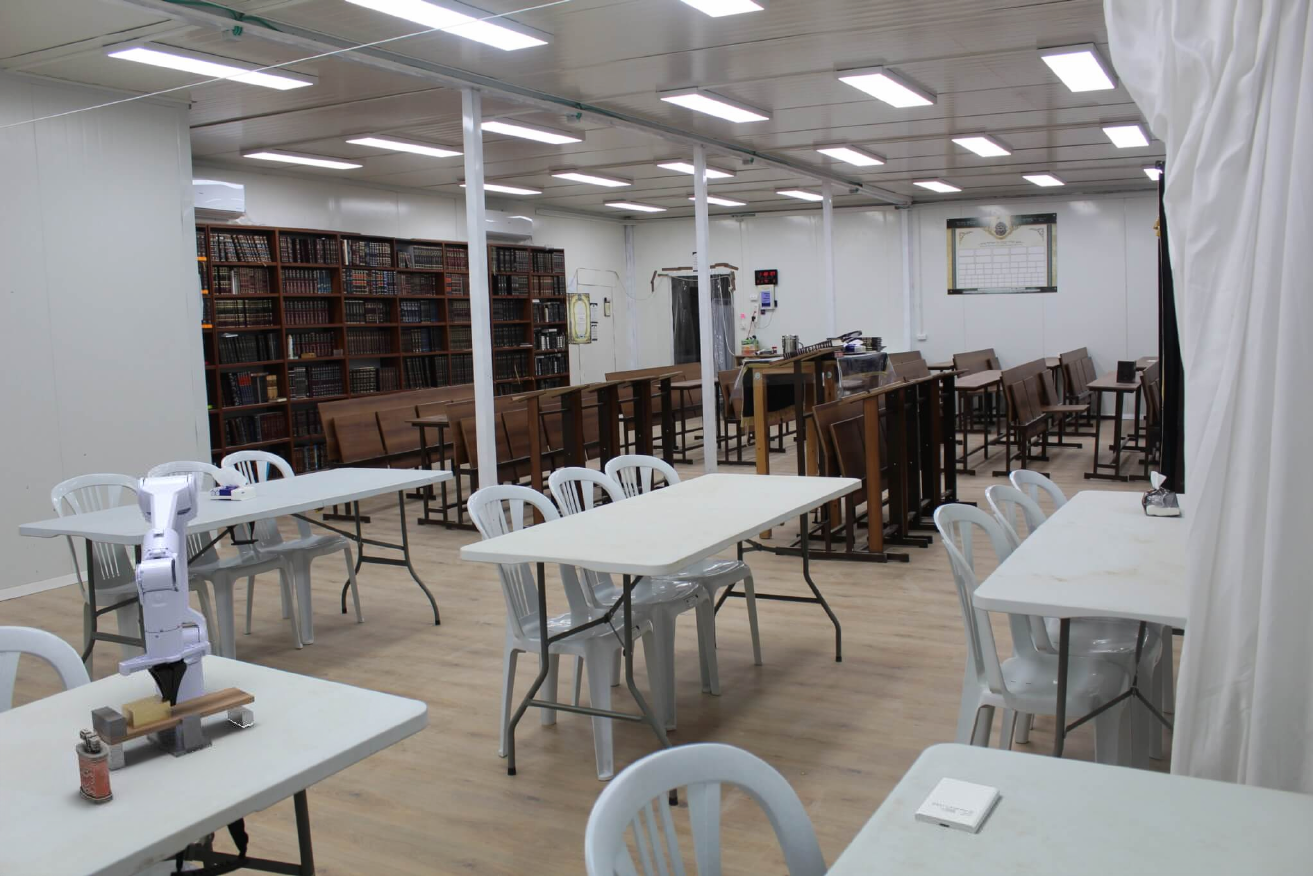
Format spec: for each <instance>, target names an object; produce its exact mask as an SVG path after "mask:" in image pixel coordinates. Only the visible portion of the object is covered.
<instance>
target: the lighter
mask: <svg viewBox="0 0 1313 876" xmlns="http://www.w3.org/2000/svg"><path fill="white" fill-rule="evenodd" d="M79 739H80V740H82V741H83V742H80V743H77V744H76V745H75V752H76V753H77V754H76V755H77V758H78V759H77V760H78V768H79V778H80V785H79V791H80V796H81V795H82V796H81V797H82V798H83V800H85V801H86V802H88V801H89V802H88V803H91V804H92V805H96V804H99V805H103V804H107V803H109V801H110V802H112V800H113V799H114V797H113V791H112V789H111V781H110V769H109V768H108V759H107V758H108V757H109V754H108V750H107V748H106V747H105V746H104V745H102V744H101V741H100V738H99V736H98V733H97V732H94V731H91V730H89V729H88V728H83V729H80V730H79Z"/></svg>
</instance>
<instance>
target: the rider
mask: <svg viewBox="0 0 1313 876" xmlns="http://www.w3.org/2000/svg"><path fill="white" fill-rule="evenodd" d="M120 706H121V707H120V708H121V715H123V716H124V717H125V718H126V724H127V725H128V726H130V727H132V728H133V729H137V728H140V727H143V726H147V725H150V724H153V723H157V722H160V721H163V720H167V719H170V718H171V708H170V701H169V700H167V699H165V698H163V697H161V696H160V695H157V694H156V695H152V696H149V697H145V698H141V699H137V700H134V701H130V702H127V703H124V704H121V705H120Z"/></svg>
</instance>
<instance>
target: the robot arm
mask: <svg viewBox="0 0 1313 876" xmlns="http://www.w3.org/2000/svg"><path fill="white" fill-rule="evenodd" d="M136 488H137V489H136V494H137V502H138V506H139V509H140V511H141V513H142V516H143V518H144V520H145V522H146V523H149V524H150V525H151V526H150V527H151V528H150V529H149V530H148V531H147V532H145V534H144V535H143V541H142V542H143V543H142V551H141V561H140V563H137V564H136V566H135V582H136V583H135V584H136V585H135V586H136V588H137V591H138V595H139V602H140V606H142V614H143V615H142V616H143V626H144V636H145V646H146V647H145V648H146V653H145V654H142V655H140V656H137V657H134V658H131V659H128V660H124V661H121V662H118V668H119V670H118V671H119V675H121V676H124V677H127V676H130V675H131V674H134V673H137V672H141V671H142V672H143V671H145V670H147V671H148V673H149V674H150V676H151V677H152V678H153V680H154V681H155V692H156V695H160V696H161V697H163V698H165V699H167V700H169V701H170V707H171V706H175V705H176V704H177V703H180V702H184V701H187V700H191V699H194V698H198V697H201V696H204V695H206V694H205V682H204V672H203V671H204V670H203V661H202V660H203V659H202V658H203V657H206V656H208V655H211V654H212V648H211V643H210V642H209V632H208V627H207V619H206V617H205V616H204V614H202V612H201V613H200V612H199V611H197V610H195V609H193V608H192V607H190V591H189V588H190V587H189V575H188V574H189V572H188V554H187V553H188V550H187V539H186V538H187V536H186V535H187V528H188V524H189V522H190V521H192V520H195V519H196V518H197V517H198V514H197V513H198V512H199V505H198V485H197V479H196V476H194V475H193V474H192V473H188V474H185V475H184V474H183V475H181V474H180V475H172V476H171V475H170V476H169V475H168V476H159V477H158V476H156V477H140V478H139V480H138V481H137V485H136ZM186 624H187V625H186ZM188 624H190V625H188Z"/></svg>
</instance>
